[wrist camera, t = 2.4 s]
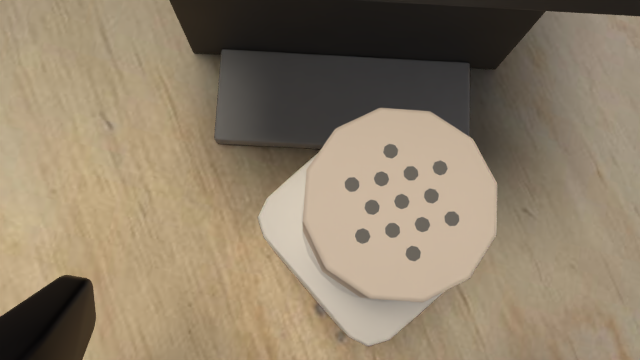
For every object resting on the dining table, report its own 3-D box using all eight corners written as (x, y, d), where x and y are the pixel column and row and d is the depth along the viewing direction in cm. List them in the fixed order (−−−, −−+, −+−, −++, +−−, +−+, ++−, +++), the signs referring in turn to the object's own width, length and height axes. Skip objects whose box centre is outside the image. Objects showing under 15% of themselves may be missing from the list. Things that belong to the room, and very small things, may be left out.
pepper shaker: (347, 338, 19) (393, 386, 9) (262, 238, 19) (224, 188, 10) (443, 251, 19) (577, 214, 10) (358, 156, 20) (410, 34, 10)
